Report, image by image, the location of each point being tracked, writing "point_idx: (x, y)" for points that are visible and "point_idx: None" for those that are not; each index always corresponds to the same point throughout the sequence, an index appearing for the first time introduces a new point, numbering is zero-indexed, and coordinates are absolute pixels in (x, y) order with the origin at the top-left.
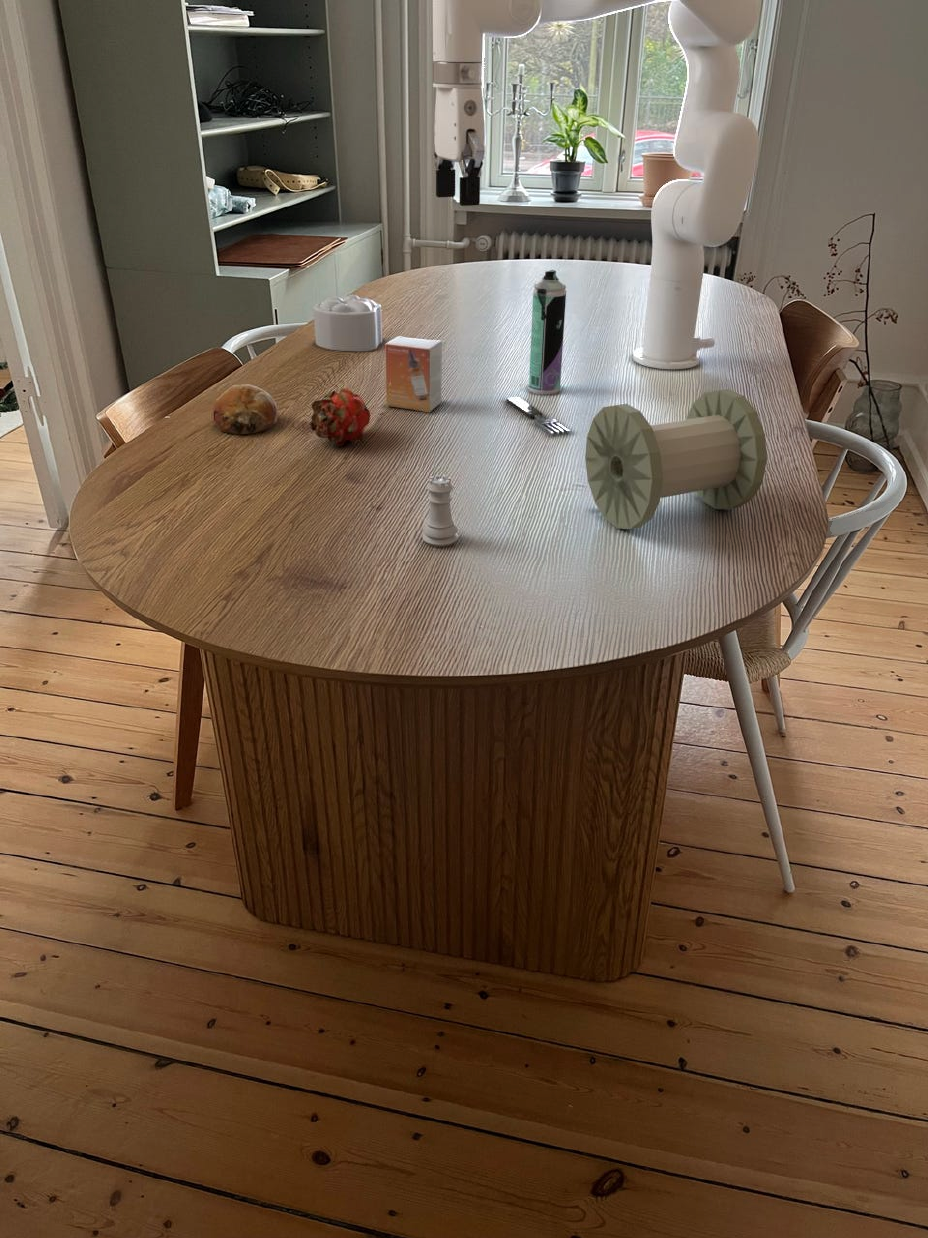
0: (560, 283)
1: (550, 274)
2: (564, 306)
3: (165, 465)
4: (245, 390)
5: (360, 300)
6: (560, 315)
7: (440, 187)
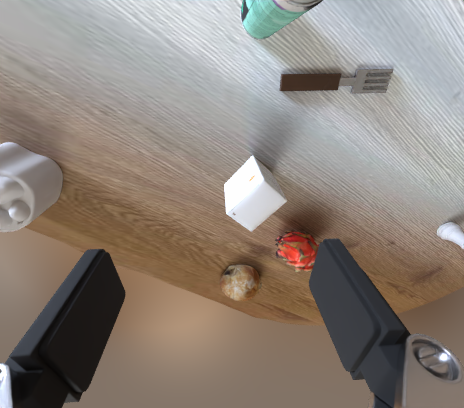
0: None
1: None
2: None
3: (280, 305)
4: (247, 295)
5: None
6: None
7: (112, 317)
